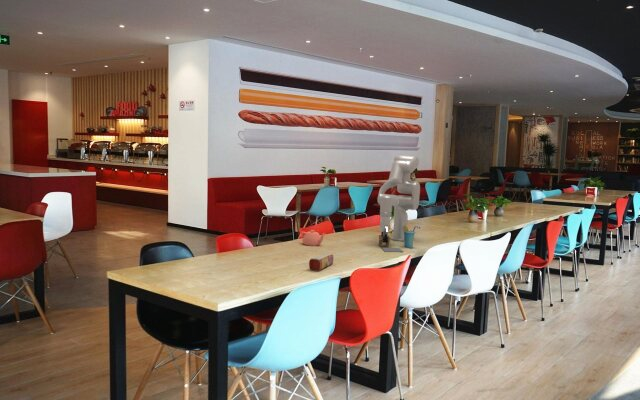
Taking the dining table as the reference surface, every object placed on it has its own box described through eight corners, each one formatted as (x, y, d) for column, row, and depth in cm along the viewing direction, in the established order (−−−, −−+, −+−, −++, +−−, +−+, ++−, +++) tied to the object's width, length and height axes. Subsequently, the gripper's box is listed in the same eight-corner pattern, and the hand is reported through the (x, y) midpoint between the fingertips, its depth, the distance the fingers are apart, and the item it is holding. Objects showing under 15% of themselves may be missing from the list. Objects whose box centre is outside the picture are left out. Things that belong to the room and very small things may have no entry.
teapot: (305, 241, 375) (306, 227, 374) (329, 245, 366) (330, 230, 365) (296, 244, 365) (296, 229, 364) (320, 247, 356) (321, 233, 355)
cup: (421, 248, 370) (423, 226, 369) (415, 249, 364) (417, 226, 363) (403, 245, 379) (405, 223, 378) (397, 246, 373) (398, 224, 372)
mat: (381, 248, 365) (381, 247, 365) (399, 248, 366) (399, 247, 366) (384, 251, 353) (384, 251, 353) (403, 252, 354) (403, 251, 354)
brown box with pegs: (378, 245, 374) (379, 235, 373) (387, 245, 375) (388, 235, 374) (380, 247, 368) (380, 236, 367) (389, 247, 369) (389, 236, 368)
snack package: (323, 263, 312) (323, 251, 311) (334, 264, 310) (334, 252, 309) (308, 270, 292) (308, 257, 292) (320, 272, 290) (320, 259, 289)
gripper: (377, 212, 377) (376, 239, 379) (382, 216, 360) (380, 243, 362) (388, 213, 378) (387, 239, 380) (394, 216, 361) (392, 244, 363)
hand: (384, 241), depth 371 cm, fingers closed on brown box with pegs, 6 cm apart
